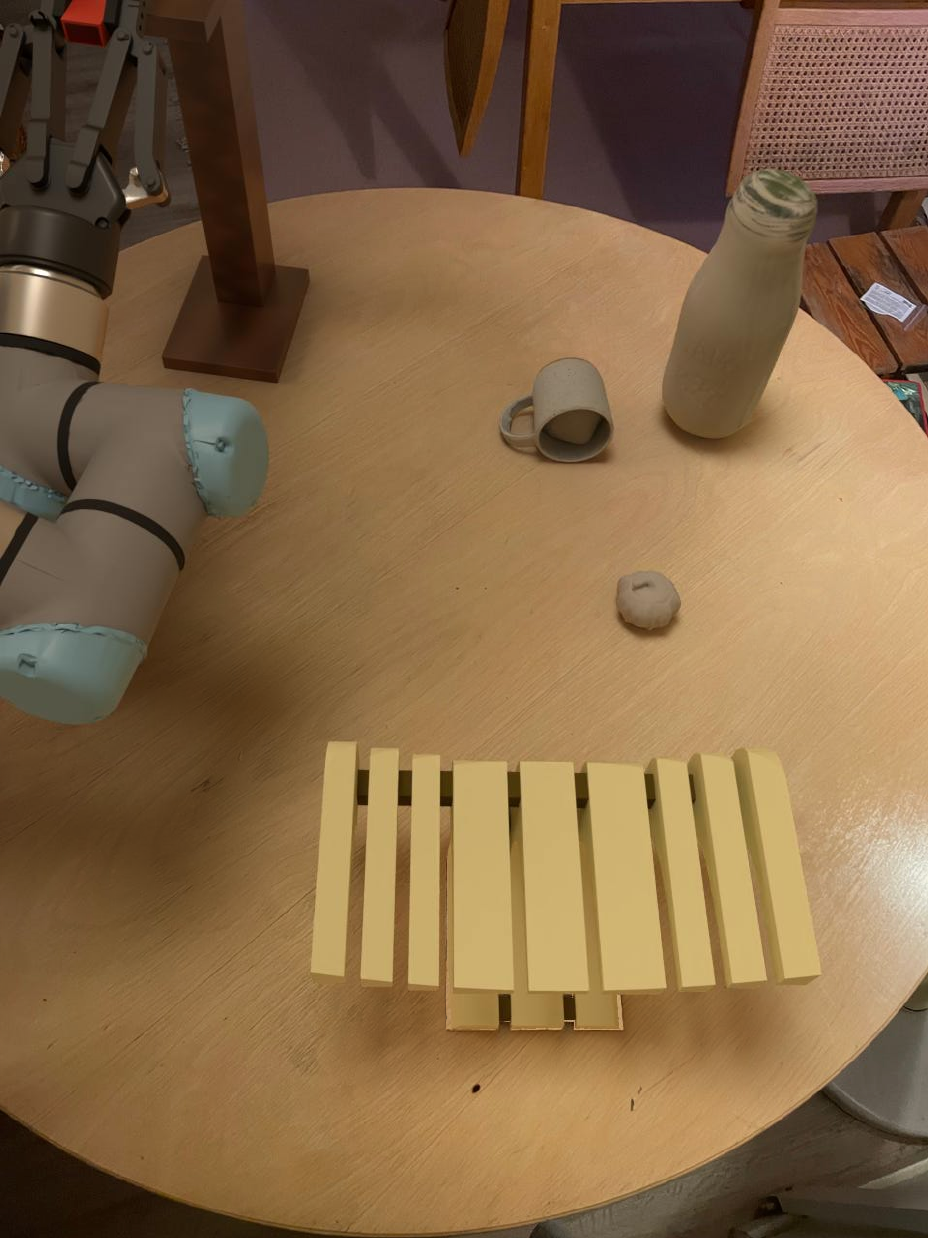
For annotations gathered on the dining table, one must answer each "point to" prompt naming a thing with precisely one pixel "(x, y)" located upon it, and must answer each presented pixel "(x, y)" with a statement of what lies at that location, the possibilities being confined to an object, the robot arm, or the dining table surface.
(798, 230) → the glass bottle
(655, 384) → the dining table surface
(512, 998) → the slatted curved stool
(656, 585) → the garlic
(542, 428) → the ceramic mug
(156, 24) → the wooden post stand
